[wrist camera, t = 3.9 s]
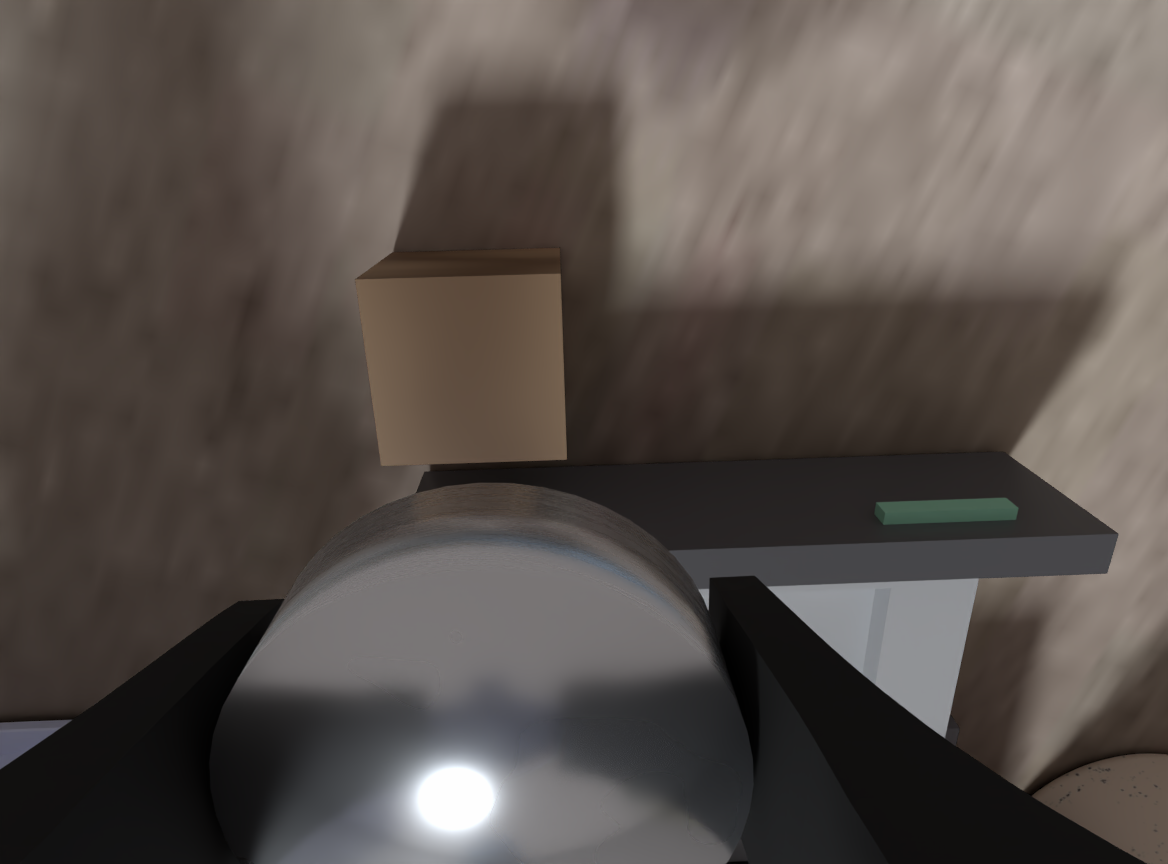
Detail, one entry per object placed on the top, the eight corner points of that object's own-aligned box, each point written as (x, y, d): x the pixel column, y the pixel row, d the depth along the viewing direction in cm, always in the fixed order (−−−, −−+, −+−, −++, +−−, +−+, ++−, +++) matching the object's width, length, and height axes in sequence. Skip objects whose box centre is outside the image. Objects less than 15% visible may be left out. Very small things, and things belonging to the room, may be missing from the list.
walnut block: (410, 409, 19) (381, 465, 16) (392, 252, 18) (355, 279, 14) (565, 404, 19) (566, 459, 16) (559, 247, 18) (560, 273, 14)
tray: (463, 803, 24) (443, 940, 20) (423, 461, 19) (387, 548, 15) (933, 782, 24) (1009, 912, 20) (1005, 441, 20) (1122, 521, 16)
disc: (315, 850, 10) (269, 989, 9) (228, 495, 8) (144, 586, 7) (713, 828, 10) (742, 959, 9) (726, 470, 8) (768, 554, 7)
